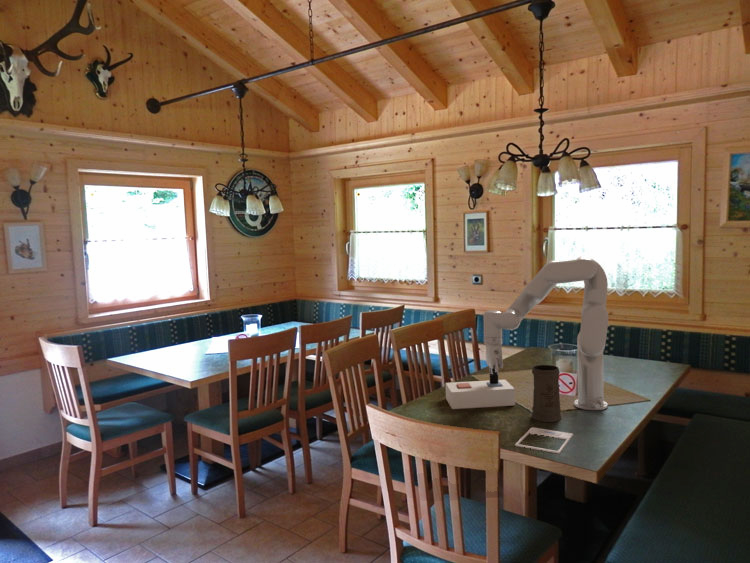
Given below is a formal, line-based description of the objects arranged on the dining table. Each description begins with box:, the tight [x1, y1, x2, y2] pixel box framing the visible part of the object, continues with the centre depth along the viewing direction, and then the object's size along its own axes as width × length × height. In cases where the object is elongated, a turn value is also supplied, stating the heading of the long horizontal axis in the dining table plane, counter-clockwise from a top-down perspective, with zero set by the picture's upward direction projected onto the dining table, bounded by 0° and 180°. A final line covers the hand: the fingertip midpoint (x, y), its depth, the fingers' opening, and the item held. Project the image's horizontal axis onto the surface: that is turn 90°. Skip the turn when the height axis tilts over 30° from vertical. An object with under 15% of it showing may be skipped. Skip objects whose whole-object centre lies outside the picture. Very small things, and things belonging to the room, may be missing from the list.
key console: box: [445, 379, 516, 410], centre depth 237 cm, size 14×26×7 cm, turn 93°
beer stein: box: [531, 364, 562, 423], centre depth 216 cm, size 15×11×20 cm
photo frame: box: [514, 426, 574, 455], centre depth 193 cm, size 15×1×18 cm
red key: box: [457, 383, 471, 389], centre depth 236 cm, size 5×5×4 cm
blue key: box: [487, 381, 502, 387], centre depth 237 cm, size 5×5×4 cm
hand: (494, 383), depth 237 cm, fingers closed
